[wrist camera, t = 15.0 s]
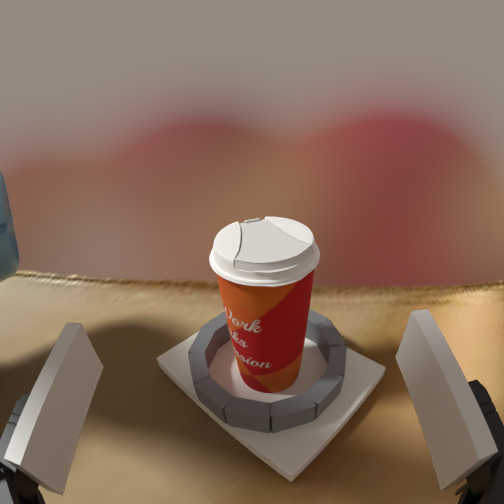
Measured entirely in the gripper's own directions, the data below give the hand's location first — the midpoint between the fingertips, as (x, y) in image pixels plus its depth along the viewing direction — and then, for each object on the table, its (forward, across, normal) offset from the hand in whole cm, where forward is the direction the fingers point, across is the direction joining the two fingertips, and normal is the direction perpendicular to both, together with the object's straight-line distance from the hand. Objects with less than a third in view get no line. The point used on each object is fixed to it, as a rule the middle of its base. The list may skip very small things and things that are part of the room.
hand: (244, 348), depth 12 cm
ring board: (+11, +1, -17) cm, 20 cm away
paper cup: (+11, +1, -15) cm, 19 cm away
